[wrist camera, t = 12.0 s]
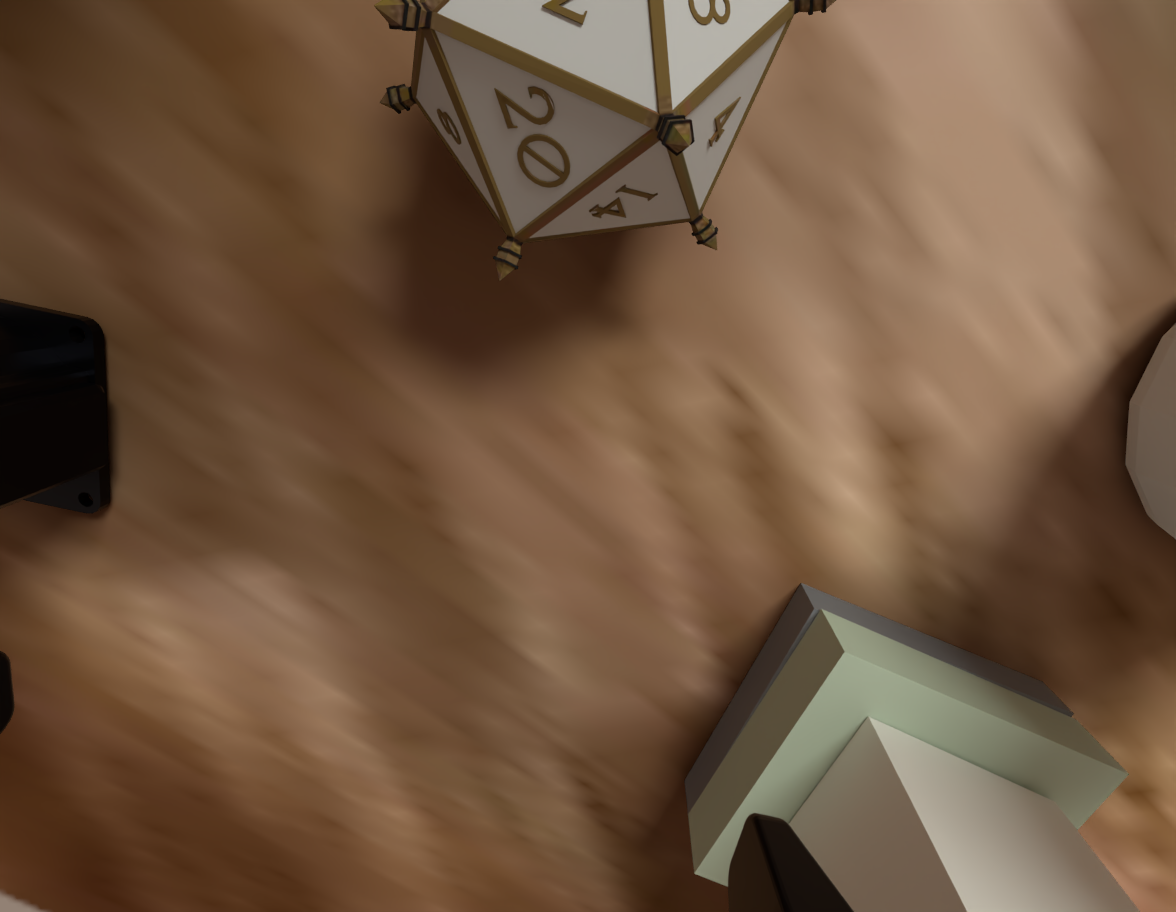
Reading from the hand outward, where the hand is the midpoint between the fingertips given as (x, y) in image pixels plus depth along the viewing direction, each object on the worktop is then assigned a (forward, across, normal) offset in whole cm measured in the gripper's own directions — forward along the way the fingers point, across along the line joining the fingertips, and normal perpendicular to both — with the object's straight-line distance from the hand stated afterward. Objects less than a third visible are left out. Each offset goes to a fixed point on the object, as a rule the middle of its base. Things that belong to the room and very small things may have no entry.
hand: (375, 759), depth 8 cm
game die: (+13, 0, -10) cm, 17 cm away
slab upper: (+12, -13, +8) cm, 19 cm away
